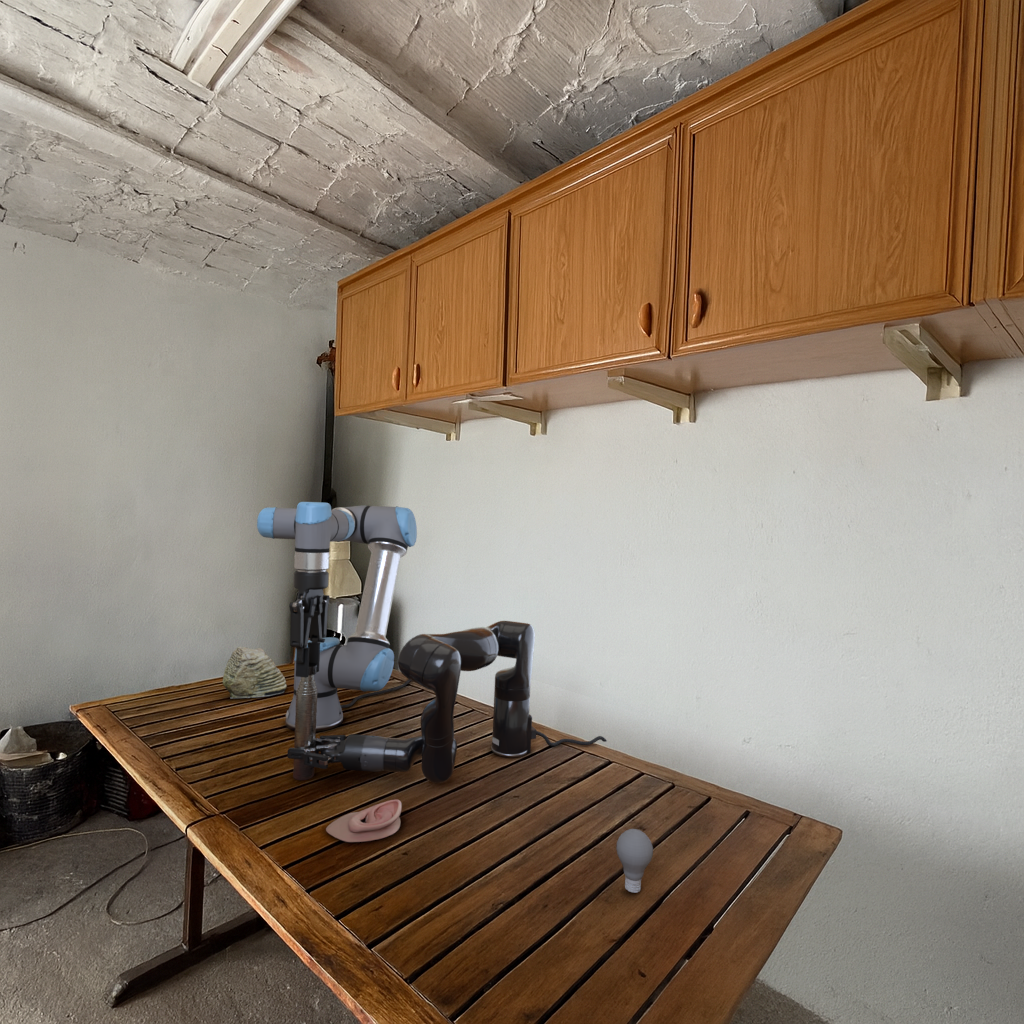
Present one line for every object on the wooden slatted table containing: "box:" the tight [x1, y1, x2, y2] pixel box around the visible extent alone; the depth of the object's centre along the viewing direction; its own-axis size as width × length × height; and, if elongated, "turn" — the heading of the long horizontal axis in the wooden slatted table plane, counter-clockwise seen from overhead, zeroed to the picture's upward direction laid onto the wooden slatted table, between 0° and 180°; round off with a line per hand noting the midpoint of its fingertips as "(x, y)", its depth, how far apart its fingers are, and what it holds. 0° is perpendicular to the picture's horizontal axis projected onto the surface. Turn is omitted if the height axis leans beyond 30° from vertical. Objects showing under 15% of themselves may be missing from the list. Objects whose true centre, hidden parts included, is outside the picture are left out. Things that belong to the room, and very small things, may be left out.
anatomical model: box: [325, 799, 403, 843], centre depth 122 cm, size 13×4×12 cm
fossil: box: [222, 646, 288, 699], centre depth 198 cm, size 9×18×15 cm, turn 132°
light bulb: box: [615, 828, 654, 894], centre depth 106 cm, size 6×6×10 cm
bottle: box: [292, 675, 317, 781], centre depth 143 cm, size 4×4×24 cm
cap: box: [308, 663, 317, 676], centre depth 143 cm, size 4×4×2 cm
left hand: (307, 673), depth 143 cm, fingers closed on cap, 4 cm apart
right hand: (293, 748), depth 143 cm, fingers closed on bottle, 4 cm apart
